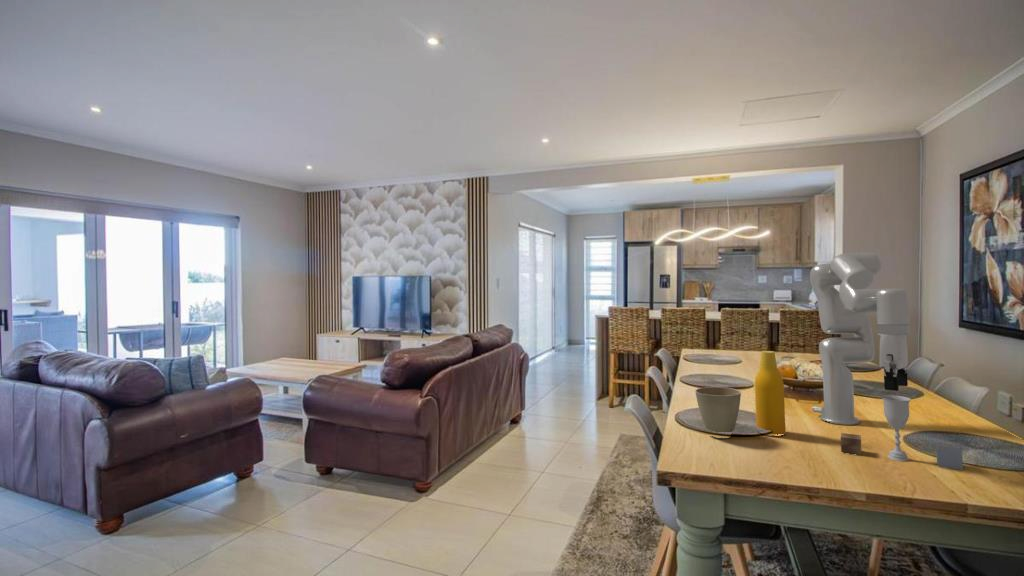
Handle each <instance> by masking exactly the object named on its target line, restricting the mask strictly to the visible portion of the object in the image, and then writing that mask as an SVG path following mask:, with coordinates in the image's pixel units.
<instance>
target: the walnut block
mask: <svg viewBox="0 0 1024 576" xmlns="http://www.w3.org/2000/svg"><path fill="white" fill-rule="evenodd" d="M840 449H841V450H840V452H843V453H842V454H846V453H849V454H848V455H853V454H856V455H855V456H860V455H861V456H862V437H861V435H860V434H854V433H845V432H841V433H840Z"/></svg>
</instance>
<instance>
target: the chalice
mask: <svg viewBox="0 0 1024 576" xmlns="http://www.w3.org/2000/svg"><path fill="white" fill-rule="evenodd" d="M881 399H882V400H883V415H884V417H885V419H886V421H887V422H888V425H889V426H890V427H891V428H892V429H894V435H893V436H894V438H895V439H894V441H893V443H894V444H895V447H894V448H891V450H890V451H889V453H888V455H887V459H890V460H893V461H897V462H908V461H910V458H909V457H908V455H907V453H906V451H904V450H902V449H901V447H900V445H901V443H902V441H901V440H900V437H902V436H901V434H900V430H903V429H904V427H905V425H906V424H907V423H908V421H909V418H910V405H909V404H910V402H911V400H912V399H911V398H910V397H906V396H900V395H894V394H893V395H890V394H889V395H888V394H887V395H881Z"/></svg>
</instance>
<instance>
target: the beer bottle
mask: <svg viewBox="0 0 1024 576" xmlns="http://www.w3.org/2000/svg"><path fill="white" fill-rule="evenodd" d="M754 379H755V380H754V394H755V395H754V399H755V400H754V401H755V427H756V426H757V427H759V428H762V429H765V430H770V431H773V433H772V434H777V435H778V434H784V433H785V434H786V430H787V429H786V410H785V385H784V380H783V377H782V375H781V373H780V372H779V369H778V366H777V360H776V353H775V351H771V350H762V351H761V353H760V365H759V369H758V372H757V373H756V375H755V378H754Z"/></svg>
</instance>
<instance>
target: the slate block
mask: <svg viewBox="0 0 1024 576" xmlns="http://www.w3.org/2000/svg"><path fill="white" fill-rule="evenodd" d="M935 447H936V449H935V450H936V452H935V453H936V463H937V466H938V467H939V468H944V469H945V468H946V469H952V470H960V471H964V469H963V468H964V467H963V466H964V465H963V451H962V449H961V448H960V446H954V445H953V446H952V445H951V446H950V445H944V444H936V445H935Z"/></svg>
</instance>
